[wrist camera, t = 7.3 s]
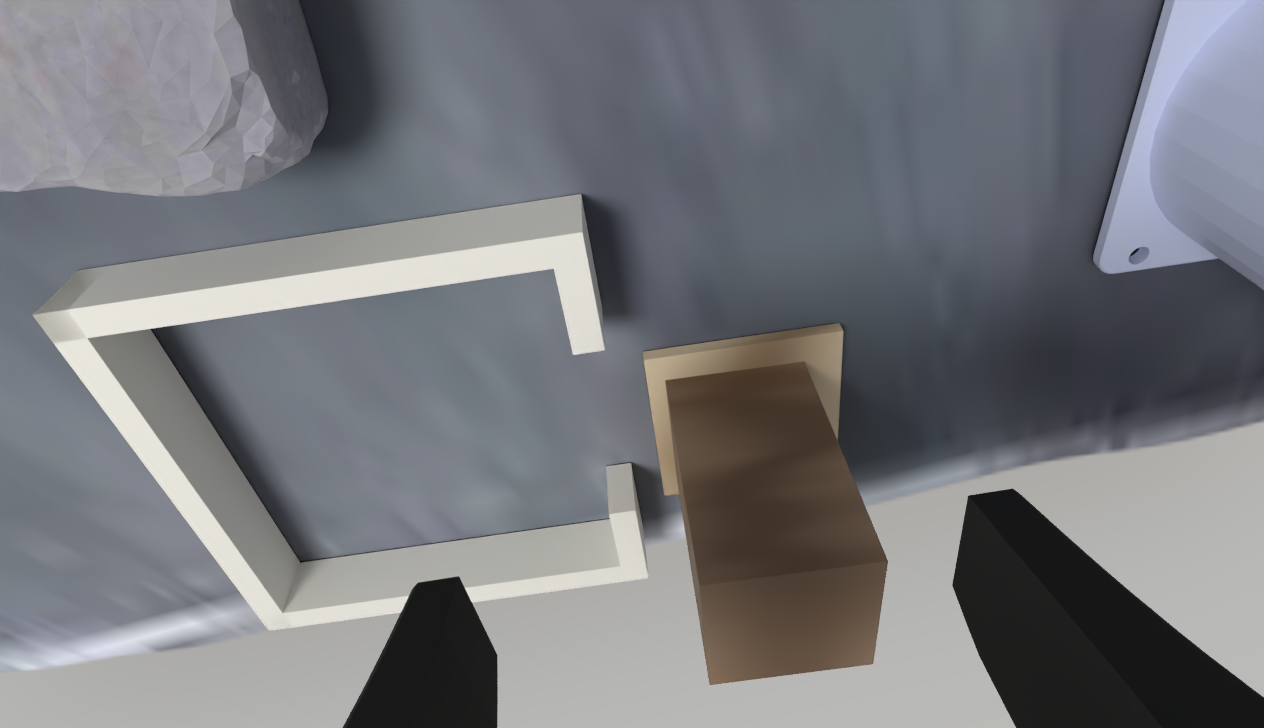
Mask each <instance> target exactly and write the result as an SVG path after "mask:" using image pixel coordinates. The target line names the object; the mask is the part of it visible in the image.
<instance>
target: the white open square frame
mask: <svg viewBox="0 0 1264 728" xmlns="http://www.w3.org/2000/svg"><path fill="white" fill-rule="evenodd" d="M547 269H554V271H555V276H556V280H557V285H558V289H559V294H560V298H561V303H562V307H563V312H564V316H565V321H566V325H567V329H568V334H569V338H570V343H571V347H572V352H573V355H576V354H583V353H590V352H596V351H603V350H605V344H604V329H603V314H602V304H601V298H600V293H599V288H598V282H597V277H596V272H595V266H594V261H593V255H592V250H591V245H590V239H589V234H588V228H587V223H586V218H585V212H584V207H583V201H582V196H581V194H578V195H571V196H565V197H558V198H551V199H545V200H538V201H532V202H525V203H519V204H512V205H505V206H499V207H492V208H486V209H479V210H472V211H466V212H459V213H453V214H446V215H440V216H433V217H426V218H420V219H413V220H407V221H400V222H394V223H387V224H380V225H374V226H367V227H361V228H354V229H347V230H341V231H334V232H328V233H321V234H315V235H308V236H301V237H295V238H288V239H282V240H275V241H269V242H262V243H255V244H249V245H242V246H236V247H229V248H222V249H216V250H209V251H203V252H196V253H190V254H183V255H176V256H170V257H163V258H157V259H150V260H144V261H137V262H130V263H124V264H117V265H111V266H104V267H97V268H91V269H84V270H78V271H77V272H76V273H75V274H74V275H73V276H72V277H71V278H70V279H69V280H68V281H67V282H66V283H65V284H64V285H63V286H62V287H61V288H60V289H59V290H58V291H57V292H56V293H55V294H54V295H53V296H52V297H51V298H50V299H48V300H47V301H46V302H45V303H44V304H43V305H42V306H41V307H40V308H39V309H38V310H37V311H36V312H35V313H34V314H33V316H34V318H35V319H36V320H37V322H38V323H39V324H40V326H41V327H42V328H43V330H44V331H45V332H46V334H47V335H48V336H49V338H50V339H51V340H52V342H53V343H54V344H55V346H56V347H57V348H58V350H59V351H60V352H61V354H62V355H63V356H64V358H65V359H66V360H67V362H68V363H69V364H70V366H71V367H72V368H73V370H74V371H75V372H76V374H77V375H78V376H79V378H80V379H81V380H82V382H83V383H84V384H85V386H86V387H87V388H88V390H89V391H90V392H91V394H92V395H93V396H94V398H95V399H96V400H97V402H98V403H99V404H100V406H101V407H102V409H103V410H104V411H105V413H106V414H107V415H108V417H109V418H110V419H111V421H112V422H113V423H114V425H115V426H116V427H117V429H118V430H119V431H120V433H121V434H122V435H123V437H124V438H125V439H126V441H127V442H128V443H129V445H130V446H131V447H132V449H133V450H134V451H135V453H136V454H137V455H138V457H139V458H140V459H141V461H142V462H143V463H144V465H145V466H146V467H147V469H148V470H149V471H150V473H151V474H152V475H153V477H154V478H155V479H156V481H157V482H158V483H159V485H160V486H161V487H162V489H163V490H164V491H165V493H166V494H167V495H168V497H169V498H170V499H171V501H172V502H173V503H174V505H175V506H176V507H177V509H178V510H179V511H180V513H181V514H182V515H183V517H184V518H185V519H186V521H187V522H188V523H189V525H190V526H191V527H192V529H193V530H194V531H195V533H196V534H197V535H198V537H199V538H200V539H201V541H202V542H203V543H204V545H205V546H206V547H207V549H208V550H209V551H210V553H211V554H212V555H213V557H214V558H215V559H216V561H217V562H218V563H219V565H220V566H221V567H222V569H223V570H224V571H225V573H226V574H227V575H228V577H229V578H230V579H231V581H232V582H233V583H234V585H235V586H236V587H237V589H238V590H239V592H240V593H241V594H242V596H243V597H244V598H245V600H246V601H247V602H248V604H249V605H250V606H251V608H252V609H253V610H254V612H255V613H256V614H257V616H258V617H259V618H260V620H261V621H262V622H263V624H264V625H265V626H266V628H267V629H268V630H269V631H271V630H278V629H285V628H292V627H300V626H306V625H314V624H321V623H328V622H335V621H343V620H350V619H356V618H364V617H371V616H379V615H386V614H393V613H400V612H402V610H403V607H404V605H405V603H406V601H407V599H408V597H409V595H410V593H411V590H412V589H413V587H414V586H415V585H416V584H417V583H419V582H425V581H432V580H438V579H444V578H451V577H457V576H459V577H460V579H461V581H462V583H463V585H464V588H465V590H466V592H467V594H468V596H469V598H470V600H471V602H479V601H487V600H494V599H500V598H508V597H515V596H522V595H530V594H537V593H545V592H552V591H558V590H566V589H573V588H580V587H588V586H595V585H602V584H609V583H616V582H624V581H631V580H638V579H645V578H648V571H647V570H648V569H647V560H646V550H645V540H644V530H643V525H642V519H641V514H640V509H639V503H638V498H637V493H636V487H635V482H634V476H633V471H632V466H631V463H626V464H619V465H612V466H606V472H607V489H608V507H609V517H610V519H606V520H599V521H592V522H585V523H578V524H571V525H564V526H557V527H550V528H542V529H535V530H528V531H521V532H514V533H507V534H500V535H493V536H486V537H479V538H472V539H464V540H457V541H450V542H443V543H436V544H429V545H422V546H415V547H408V548H401V549H394V550H386V551H379V552H372V553H365V554H358V555H351V556H344V557H337V558H330V559H323V560H315V561H308V562H301V563H300V561H299V560H298V558H297V557H296V555H295V554H294V552H293V551H292V549H291V547H290V546H289V544H288V543H287V541H286V540H285V538H284V537H283V535H282V533H281V532H280V530H279V529H278V527H277V526H276V524H275V522H274V521H273V519H272V518H271V516H270V515H269V513H268V512H267V510H266V508H265V507H264V505H263V504H262V502H261V501H260V499H259V498H258V496H257V494H256V493H255V491H254V490H253V488H252V487H251V485H250V483H249V482H248V480H247V479H246V477H245V476H244V474H243V473H242V471H241V469H240V468H239V466H238V465H237V463H236V462H235V460H234V459H233V457H232V455H231V454H230V452H229V451H228V449H227V448H226V446H225V445H224V443H223V441H222V440H221V438H220V437H219V435H218V434H217V432H216V430H215V429H214V427H213V426H212V424H211V423H210V421H209V420H208V418H207V416H206V415H205V413H204V412H203V410H202V409H201V407H200V406H199V404H198V402H197V401H196V399H195V398H194V396H193V395H192V393H191V391H190V390H189V388H188V387H187V385H186V384H185V382H184V381H183V379H182V377H181V376H180V374H179V373H178V371H177V370H176V368H175V367H174V365H173V363H172V362H171V360H170V359H169V357H168V356H167V354H166V352H165V351H164V349H163V348H162V346H161V345H160V343H159V342H158V340H157V338H156V337H155V335H154V334H153V332H152V331H151V329H153V328H159V327H166V326H173V325H180V324H186V323H193V322H200V321H206V320H213V319H220V318H226V317H233V316H240V315H246V314H253V313H260V312H266V311H273V310H280V309H286V308H293V307H300V306H306V305H313V304H320V303H327V302H333V301H340V300H347V299H353V298H360V297H367V296H373V295H380V294H387V293H393V292H400V291H407V290H413V289H420V288H427V287H433V286H440V285H447V284H454V283H460V282H467V281H474V280H480V279H487V278H494V277H500V276H507V275H514V274H520V273H527V272H534V271H540V270H547Z"/></svg>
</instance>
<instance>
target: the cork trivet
mask: <svg viewBox="0 0 1264 728" xmlns="http://www.w3.org/2000/svg"><path fill="white" fill-rule="evenodd" d="M842 349H843V329H842V327H841V325H840V323H835V324H828V325H822V326H815V327H808V328H801V329H794V330H787V331H781V332H774V333H767V334H760V335H753V336H746V337H740V338H733V339H726V340H719V341H712V342H705V343H699V344H692V345H685V346H678V347H671V348H664V349H658V350H651V351H644V352H643V358H644V365H645V372H646V378H647V385H648V391H649V398H650V404H651V411H652V418H653V424H654V431H655V437H656V444H657V450H658V457H659V463H660V470H661V477H662V483H663V490H664V496H666V495H674V494H679V489H678V483H677V476H676V468H675V459H674V451H673V442H672V434H671V425H670V417H669V408H668V399H667V391H666V382H665V380H671V379H678V378H686V377H693V376H700V375H708V374H715V373H723V372H730V371H737V370H745V369H752V368H759V367H767V366H774V365H782V364H789V363H796V362H805V364H806V366H807V369H808V371H809V374H810V376H811V378H812V381H813V383H814V386H815V388H816V390H817V393H818V395H819V398H820V400H821V402H822V405H823V407H824V409H825V412H826V414H827V417H828V419H829V421H830V424H831V426H832V429H833V431H834V433H835V436H836V438H837V441H838V426H839V406H840V387H841V368H842Z"/></svg>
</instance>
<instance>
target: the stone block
mask: <svg viewBox="0 0 1264 728" xmlns="http://www.w3.org/2000/svg"><path fill="white" fill-rule="evenodd" d="M327 114H328V101H327V94H326V90H325V87H324V83H323V80H322V76H321V73H320V68H319V64H318V59H317V56H316V53H315V49H314V46H313V43H312V40H311V37H310V33H309V30H308V27H307V24H306V20H305V17H304V14H303V11H302V8H301V5H300V2H299V0H0V192H11V191H15V192H19V191H26V190H34V189H41V188H51V187H66V186H77V187H83V188H89V189H95V190H102V191H109V192H116V193H132V194H141V195H151V196H201V195H209V194H214V193H219V192H226V191H235V190H242V189H247V188H252V187H253V186H255V185H257V184H259V183H261V182H263V181H265V180H267V179H269V178H270V177H272V176H274V175H275V174H277V173H279V172H280V171H282V170H284V169H286V168H289V167H291V166H293V165H295V164H296V163H298V162H299V161H301V160H302V159H303V158H305V157H306V156H307V155H308V154H309V153H310V151H311V148H312V144H313V141H314V139H315V138H316V137H317V135H318V134H319V133H320V132H321V130H322V129H323V127H324V124H325V120H326V117H327Z"/></svg>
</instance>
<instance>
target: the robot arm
mask: <svg viewBox="0 0 1264 728" xmlns="http://www.w3.org/2000/svg"><path fill="white" fill-rule="evenodd" d="M1137 248H1139V250H1138V251H1137V252H1136V253H1135V254H1134V255H1132V256H1130V254H1131V253H1132V252H1133V251H1134V250H1135V249H1137ZM1212 259H1221V260H1222V261H1223V262H1225V263H1226V264H1228V265H1229V266H1230V267H1232V268H1233V269H1235V270H1236V271H1237V272H1239V273H1240V274H1242V275H1243V276H1244V277H1246V278H1247V279H1249V280H1250V281H1251V282H1253V283H1254V284H1256V285H1257V286H1258V287H1260V288H1261V289H1263V290H1264V0H1165V2H1164V6H1163V9H1162V13H1161V16H1160V20H1159V23H1158V27H1157V31H1156V34H1155V38H1154V41H1153V45H1152V48H1151V52H1150V55H1149V59H1148V63H1147V66H1146V70H1145V73H1144V77H1143V80H1142V84H1141V88H1140V91H1139V95H1138V98H1137V102H1136V105H1135V109H1134V112H1133V116H1132V120H1131V123H1130V127H1129V130H1128V134H1127V137H1126V141H1125V144H1124V148H1123V152H1122V155H1121V159H1120V162H1119V166H1118V169H1117V173H1116V177H1115V180H1114V184H1113V187H1112V191H1111V194H1110V198H1109V201H1108V205H1107V209H1106V212H1105V216H1104V219H1103V223H1102V226H1101V230H1100V233H1099V237H1098V241H1097V244H1096V248H1095V251H1094V255H1093V261H1094V263H1095V265H1096V266H1097V267H1098V268H1099V269H1100V270H1101V271H1103V272H1105V273H1107V274H1116V273H1123V272H1130V271H1137V270H1144V269H1151V268H1157V267H1164V266H1171V265H1178V264H1185V263H1191V262H1198V261H1205V260H1212ZM953 588H954V591H955V593H956V596H957V599H958V601H959V604H960V607H961V609H962V612H963V615H964V618H965V620H966V623H967V625H968V628H969V631H970V633H971V635H972V638H973V641H974V643H975V646H976V648H977V651H978V653H979V656H980V658H981V660H982V662H983V664H984V666H985V668H986V670H987V672H988V674H989V676H990V677H991V680H992V682H993V684H994V686H995V687H996V689H997V691H998V693H999V695H1000V697H1001V699H1002V701H1003V703H1004V705H1005V707H1006V709H1007V711H1008V713H1009V714H1010V717H1011V718H1012V720H1013V722H1014V724H1015V726H1016V728H1264V697H1262V696H1261V695H1260V694H1258V693H1257V692H1256V691H1254V690H1253V689H1252V688H1250V687H1249V686H1247V685H1246V684H1245V683H1244V682H1242V681H1241V680H1240V679H1238V678H1237V677H1236V676H1235V675H1233V674H1232V673H1230V672H1229V671H1228V670H1227V669H1225V668H1224V667H1223V666H1221V665H1220V664H1219V663H1218V662H1216V661H1215V660H1214V659H1212V658H1211V657H1210V656H1208V655H1207V654H1206V653H1205V652H1203V651H1202V650H1201V649H1200V648H1198V647H1197V646H1196V645H1195V644H1193V643H1192V642H1191V641H1190V640H1188V639H1187V638H1186V637H1185V636H1183V635H1182V634H1181V633H1179V632H1178V631H1177V630H1176V629H1175V628H1173V627H1172V626H1171V625H1170V624H1169V623H1167V622H1166V621H1165V620H1164V619H1163V618H1161V617H1160V616H1159V615H1158V614H1157V613H1155V612H1154V611H1153V610H1152V609H1151V608H1149V607H1148V606H1147V605H1146V604H1144V603H1143V602H1142V601H1141V600H1140V599H1138V598H1137V597H1136V596H1135V595H1134V594H1132V593H1131V592H1130V591H1129V590H1128V589H1126V588H1125V587H1124V586H1123V585H1122V584H1120V583H1119V582H1118V581H1117V580H1116V579H1115V578H1114V577H1112V576H1111V575H1110V574H1109V573H1108V572H1107V571H1105V570H1104V569H1103V568H1102V567H1101V566H1100V565H1099V564H1098V563H1096V562H1095V561H1094V560H1093V559H1092V558H1091V557H1089V556H1088V555H1087V554H1086V553H1085V552H1084V551H1083V550H1082V549H1080V548H1079V547H1078V546H1077V545H1076V544H1075V543H1074V542H1072V541H1071V540H1070V539H1069V538H1068V537H1067V536H1066V535H1065V534H1064V533H1062V532H1061V531H1060V530H1059V529H1058V528H1057V527H1056V526H1055V525H1054V524H1052V523H1051V522H1050V521H1049V520H1048V519H1047V518H1046V517H1045V516H1044V515H1042V514H1041V513H1040V512H1039V511H1038V510H1037V509H1036V508H1035V507H1034V506H1033V505H1032V504H1030V503H1029V502H1028V501H1027V500H1026V499H1025V498H1024V497H1023V496H1022V495H1020V494H1019V493H1018V492H1016V491H1015V490H1014V489H1009V490H1002V491H996V492H989V493H983V494H976V495H970V496H968V501H967V507H966V512H965V517H964V523H963V529H962V535H961V540H960V546H959V551H958V557H957V563H956V569H955V574H954V580H953ZM343 728H497V654H496V652H495V650H494V648H493V645H492V643H491V641H490V639H489V637H488V635H487V633H486V631H485V629H484V627H483V625H482V623H481V621H480V619H479V616H478V614H477V612H476V610H475V608H474V606H473V604H472V602H471V600H470V598H469V596H468V594H467V592H466V590H465V588H464V585H463V583H462V581H461V579H460V577H459V576H457V577H451V578H444V579H438V580H432V581H425V582H419V583H417V584H416V585H415V586H414V587H413V589H412V590H411V593H410V595H409V597H408V599H407V601H406V603H405V605H404V607H403V610H402V612H401V614H400V616H399V618H398V620H397V622H396V624H395V627H394V629H393V631H392V633H391V635H390V637H389V639H388V641H387V643H386V645H385V647H384V649H383V651H382V653H381V655H380V657H379V659H378V661H377V663H376V665H375V667H374V669H373V671H372V673H371V675H370V677H369V679H368V681H367V683H366V685H365V687H364V689H363V691H362V693H361V695H360V696H359V698H358V700H357V702H356V704H355V706H354V708H353V710H352V711H351V713H350V715H349V717H348V719H347V721H346V723H345V724H344V726H343Z"/></svg>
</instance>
